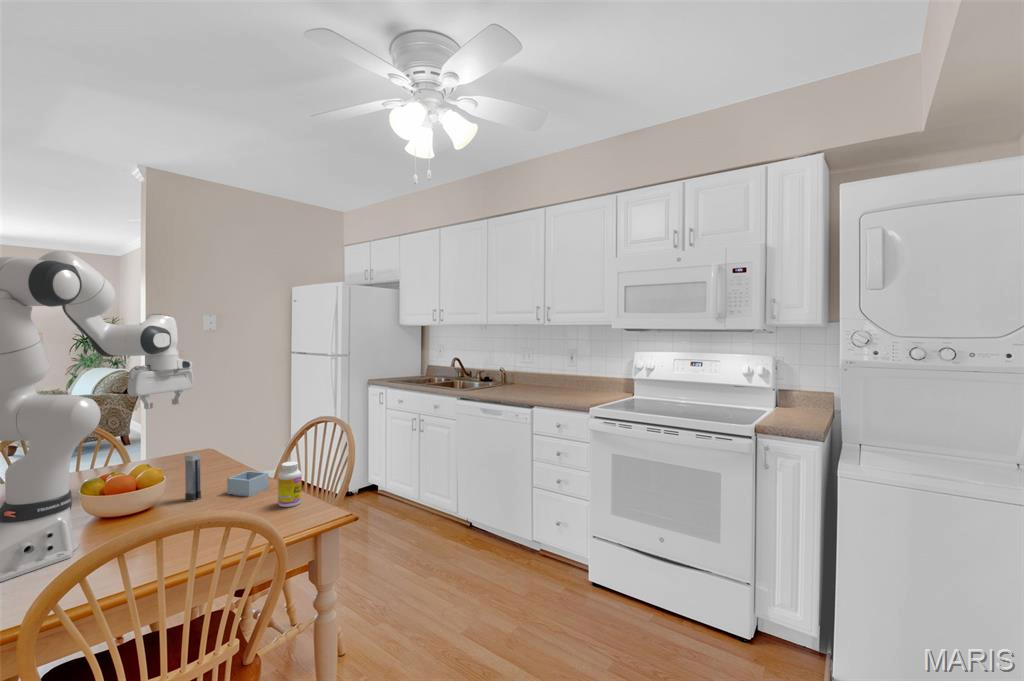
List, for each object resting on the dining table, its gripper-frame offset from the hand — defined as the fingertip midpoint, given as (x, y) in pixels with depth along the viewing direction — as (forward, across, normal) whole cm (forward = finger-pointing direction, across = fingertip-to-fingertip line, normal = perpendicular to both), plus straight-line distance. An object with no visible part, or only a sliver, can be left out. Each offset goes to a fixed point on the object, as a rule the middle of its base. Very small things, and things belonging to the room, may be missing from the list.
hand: (162, 406), depth 158 cm
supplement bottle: (+30, +5, -44) cm, 54 cm away
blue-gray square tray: (+29, +10, -23) cm, 39 cm away
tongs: (+29, -1, -12) cm, 32 cm away
